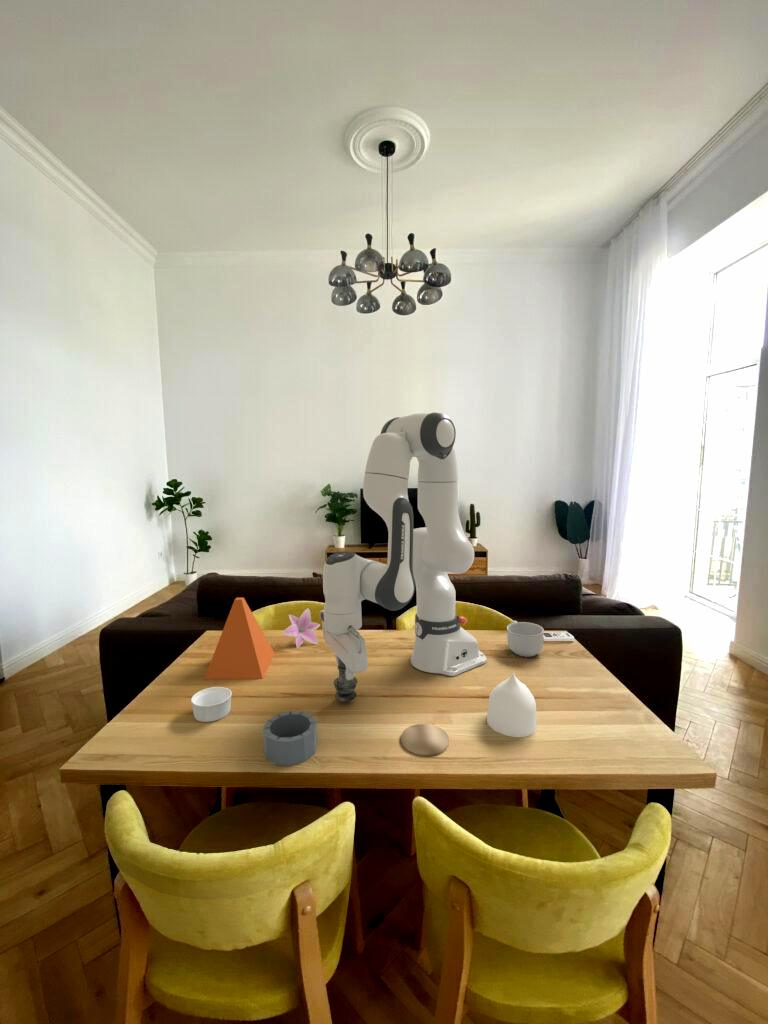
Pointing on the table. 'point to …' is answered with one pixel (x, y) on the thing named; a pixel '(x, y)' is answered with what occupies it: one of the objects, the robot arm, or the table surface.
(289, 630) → the lily
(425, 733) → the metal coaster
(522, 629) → the teacup
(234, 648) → the pyramid
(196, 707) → the ramekin
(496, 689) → the teardrop
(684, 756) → the table surface
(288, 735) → the grey faceted cup
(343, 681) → the grey chess piece
